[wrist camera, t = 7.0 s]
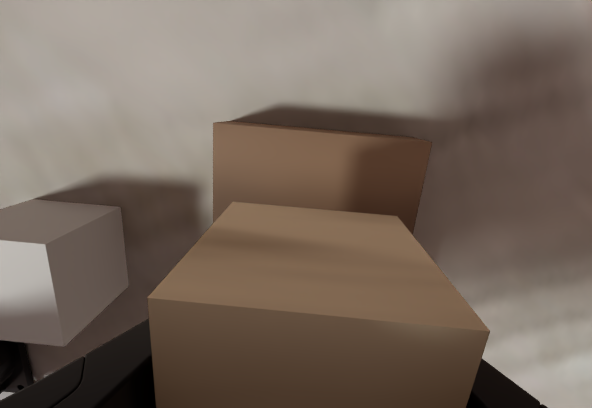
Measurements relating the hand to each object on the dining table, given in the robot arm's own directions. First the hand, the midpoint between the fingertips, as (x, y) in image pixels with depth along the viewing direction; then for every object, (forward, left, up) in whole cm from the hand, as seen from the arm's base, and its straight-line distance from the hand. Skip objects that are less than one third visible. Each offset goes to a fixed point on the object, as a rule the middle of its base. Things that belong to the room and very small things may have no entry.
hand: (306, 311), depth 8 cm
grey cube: (-3, +13, -8) cm, 16 cm away
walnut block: (0, 0, -9) cm, 9 cm away
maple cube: (0, 0, -2) cm, 2 cm away
